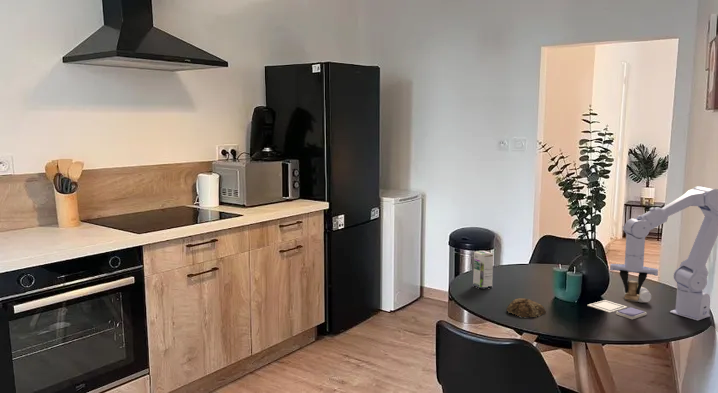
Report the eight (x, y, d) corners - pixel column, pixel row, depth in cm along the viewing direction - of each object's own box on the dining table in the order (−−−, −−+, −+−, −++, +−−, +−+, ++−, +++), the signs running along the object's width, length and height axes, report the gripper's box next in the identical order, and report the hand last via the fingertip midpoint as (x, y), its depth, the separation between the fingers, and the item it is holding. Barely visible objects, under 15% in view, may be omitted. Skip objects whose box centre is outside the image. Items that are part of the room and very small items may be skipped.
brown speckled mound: (517, 304, 201) (518, 291, 200) (549, 312, 192) (550, 298, 191) (499, 313, 192) (499, 299, 191) (531, 322, 183) (532, 307, 182)
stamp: (639, 298, 188) (640, 281, 187) (637, 302, 184) (638, 284, 183) (626, 296, 190) (627, 279, 189) (624, 299, 187) (625, 282, 186)
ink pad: (646, 314, 187) (646, 311, 187) (632, 319, 183) (632, 316, 183) (630, 309, 192) (630, 306, 192) (616, 314, 188) (616, 310, 188)
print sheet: (627, 307, 195) (627, 306, 195) (609, 312, 190) (609, 311, 190) (604, 300, 202) (604, 299, 202) (587, 305, 197) (587, 304, 197)
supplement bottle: (622, 296, 207) (639, 305, 197) (622, 282, 207) (639, 290, 197) (636, 295, 208) (653, 303, 198) (636, 281, 207) (653, 289, 197)
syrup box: (472, 286, 222) (473, 251, 220) (484, 284, 225) (484, 249, 223) (481, 290, 217) (481, 254, 215) (493, 287, 219) (493, 252, 217)
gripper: (659, 254, 184) (656, 292, 186) (612, 249, 192) (610, 286, 194) (658, 258, 178) (656, 298, 180) (610, 253, 186) (608, 292, 188)
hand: (632, 293), depth 187 cm, fingers closed on stamp, 3 cm apart
